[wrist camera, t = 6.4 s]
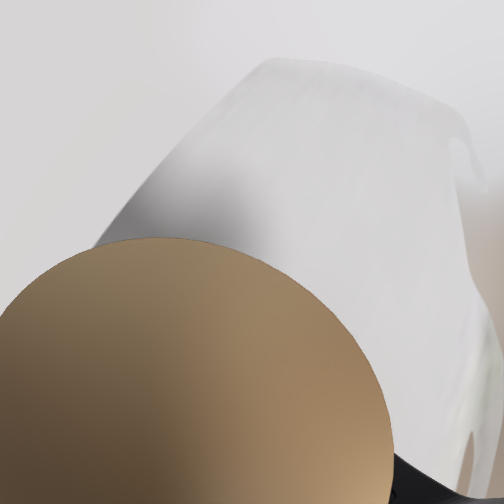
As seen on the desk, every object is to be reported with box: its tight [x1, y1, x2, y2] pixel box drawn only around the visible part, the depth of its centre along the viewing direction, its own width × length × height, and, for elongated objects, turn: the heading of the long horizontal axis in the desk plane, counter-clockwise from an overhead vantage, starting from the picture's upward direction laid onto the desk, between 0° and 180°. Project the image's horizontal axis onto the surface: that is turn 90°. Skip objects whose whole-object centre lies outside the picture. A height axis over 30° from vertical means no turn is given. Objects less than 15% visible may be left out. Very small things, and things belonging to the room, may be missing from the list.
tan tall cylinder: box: [0, 237, 394, 504], centre depth 8 cm, size 4×4×13 cm
